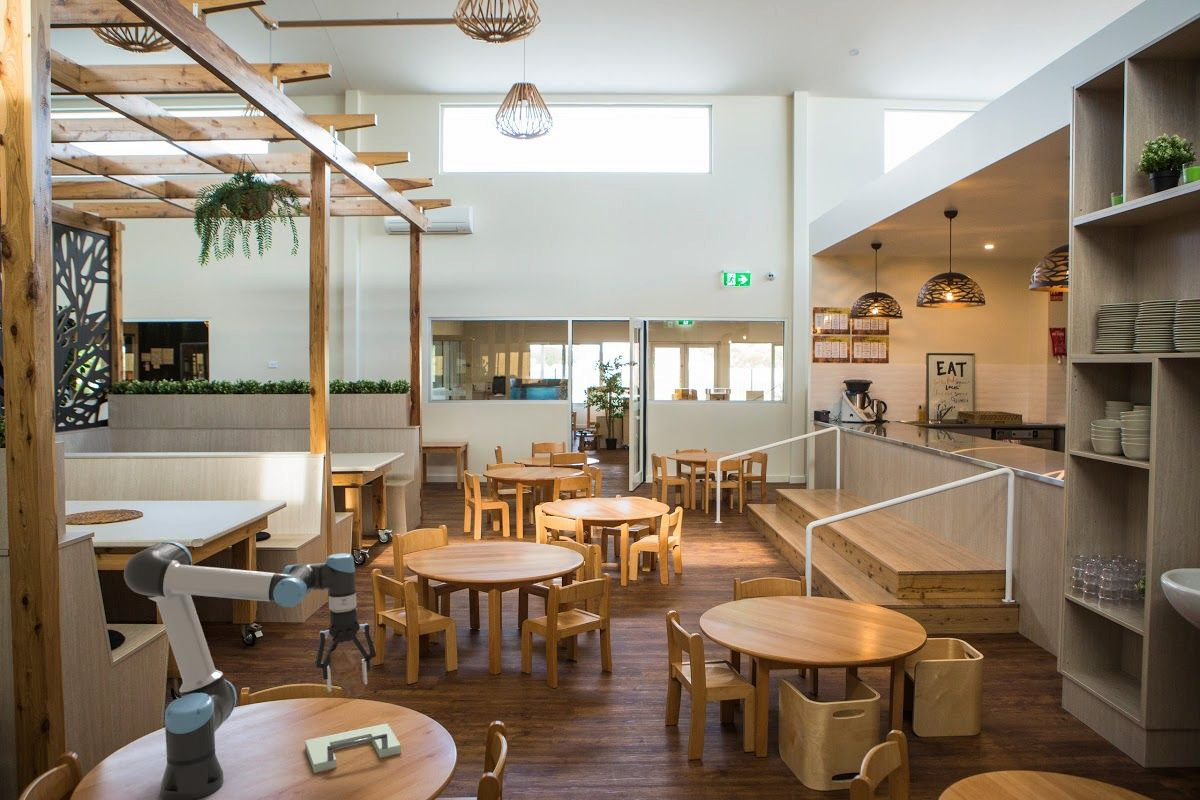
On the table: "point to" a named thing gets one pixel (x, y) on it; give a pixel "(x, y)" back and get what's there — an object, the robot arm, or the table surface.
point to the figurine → (346, 672)
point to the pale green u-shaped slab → (319, 745)
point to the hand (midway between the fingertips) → (347, 686)
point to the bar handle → (330, 748)
